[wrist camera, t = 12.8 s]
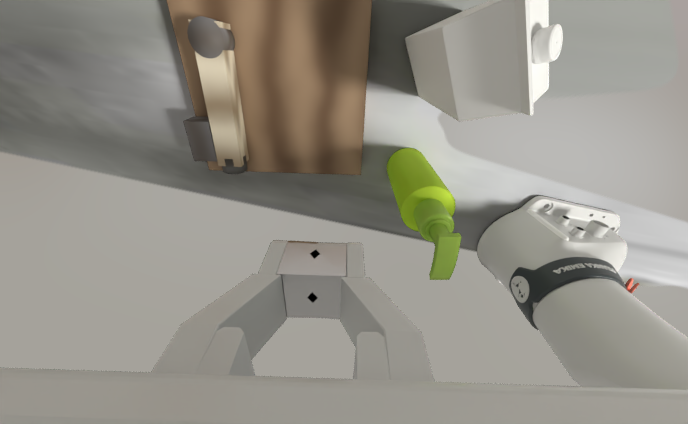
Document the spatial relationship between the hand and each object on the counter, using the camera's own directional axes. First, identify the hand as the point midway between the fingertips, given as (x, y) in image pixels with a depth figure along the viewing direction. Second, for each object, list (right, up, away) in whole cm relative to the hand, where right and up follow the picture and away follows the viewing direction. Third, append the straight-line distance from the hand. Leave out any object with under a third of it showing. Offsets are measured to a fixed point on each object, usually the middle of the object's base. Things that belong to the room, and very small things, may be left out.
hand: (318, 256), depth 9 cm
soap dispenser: (+10, +8, +32) cm, 34 cm away
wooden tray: (-7, +17, +26) cm, 32 cm away
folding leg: (-14, +15, +24) cm, 32 cm away
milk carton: (+13, +21, +24) cm, 34 cm away
